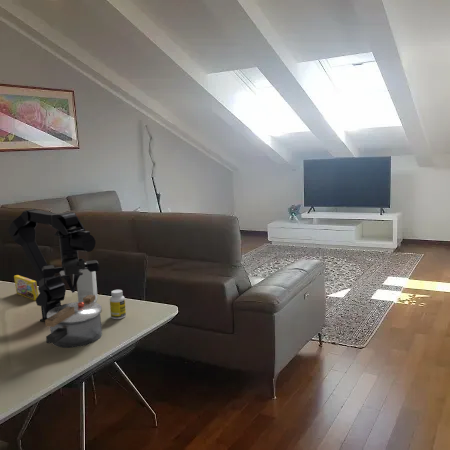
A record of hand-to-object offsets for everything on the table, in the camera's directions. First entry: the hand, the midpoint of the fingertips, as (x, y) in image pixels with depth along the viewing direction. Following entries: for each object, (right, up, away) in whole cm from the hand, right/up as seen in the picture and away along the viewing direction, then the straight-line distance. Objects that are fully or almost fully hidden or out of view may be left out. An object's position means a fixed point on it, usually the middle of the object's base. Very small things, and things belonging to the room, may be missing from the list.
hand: (73, 292), depth 164 cm
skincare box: (-2, -8, +25) cm, 26 cm away
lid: (+4, -6, -11) cm, 13 cm away
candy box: (-31, -7, +35) cm, 47 cm away
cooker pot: (+4, -14, -10) cm, 18 cm away
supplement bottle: (+14, -10, +8) cm, 19 cm away
